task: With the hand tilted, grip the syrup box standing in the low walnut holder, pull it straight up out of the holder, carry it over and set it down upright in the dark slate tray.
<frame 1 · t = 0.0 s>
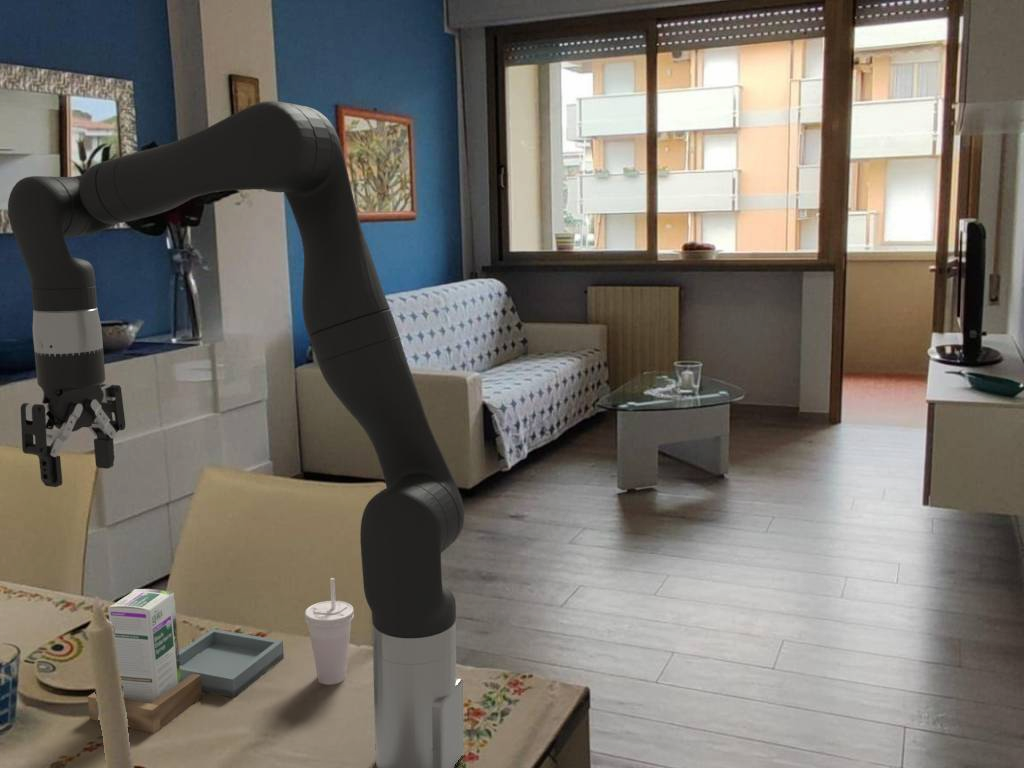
hand: (80, 476, 119), 29 cm above the table, tool pointing down, fingers open, 8 cm apart
tray: (223, 669, 132), on the table
smoothie: (331, 679, 130), on the table
holder: (150, 705, 122), on the table
syrup box: (150, 706, 122), on the table
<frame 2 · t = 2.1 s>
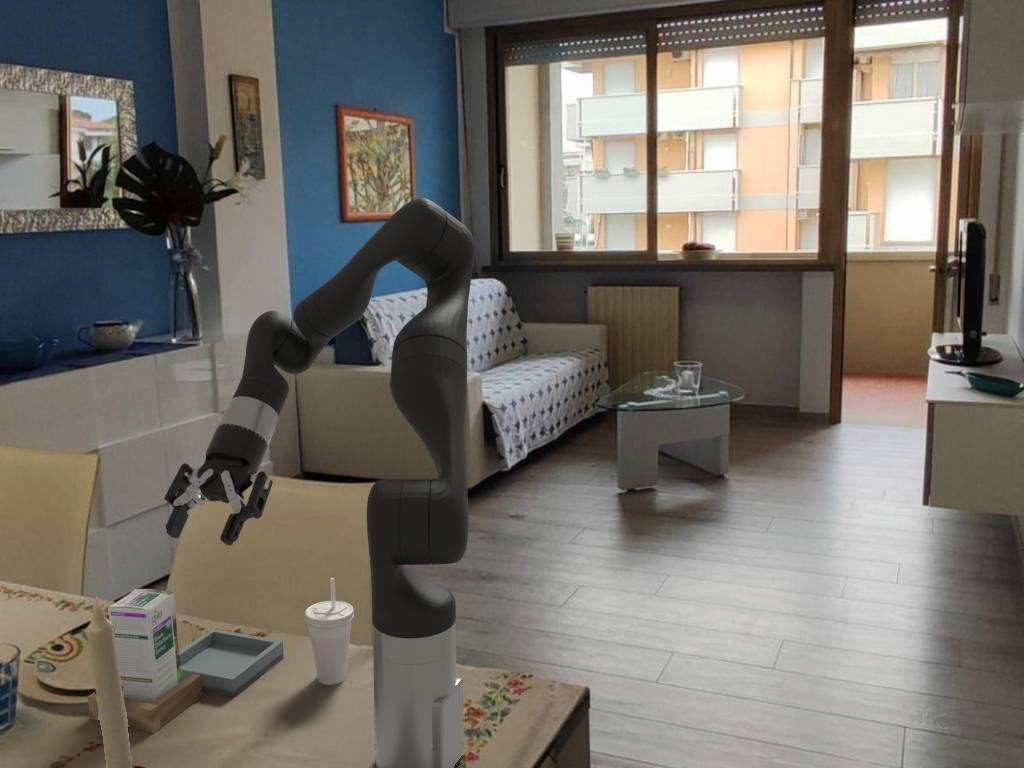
hand: (198, 539, 130), 18 cm above the table, tool tilted 45°, fingers open, 8 cm apart
nothing on the table moved.
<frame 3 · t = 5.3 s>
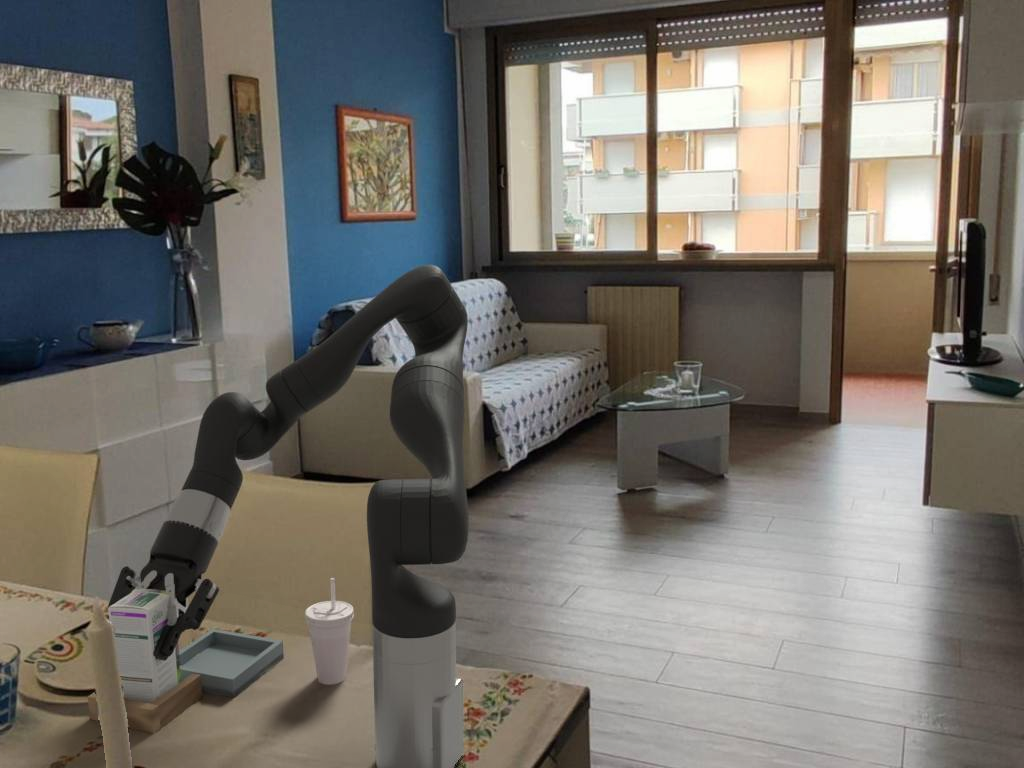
hand: (136, 653, 119), 8 cm above the table, tool tilted 45°, fingers closed on syrup box, 6 cm apart
syrup box: (150, 706, 122), on the table, touching gripper
everything else where it was.
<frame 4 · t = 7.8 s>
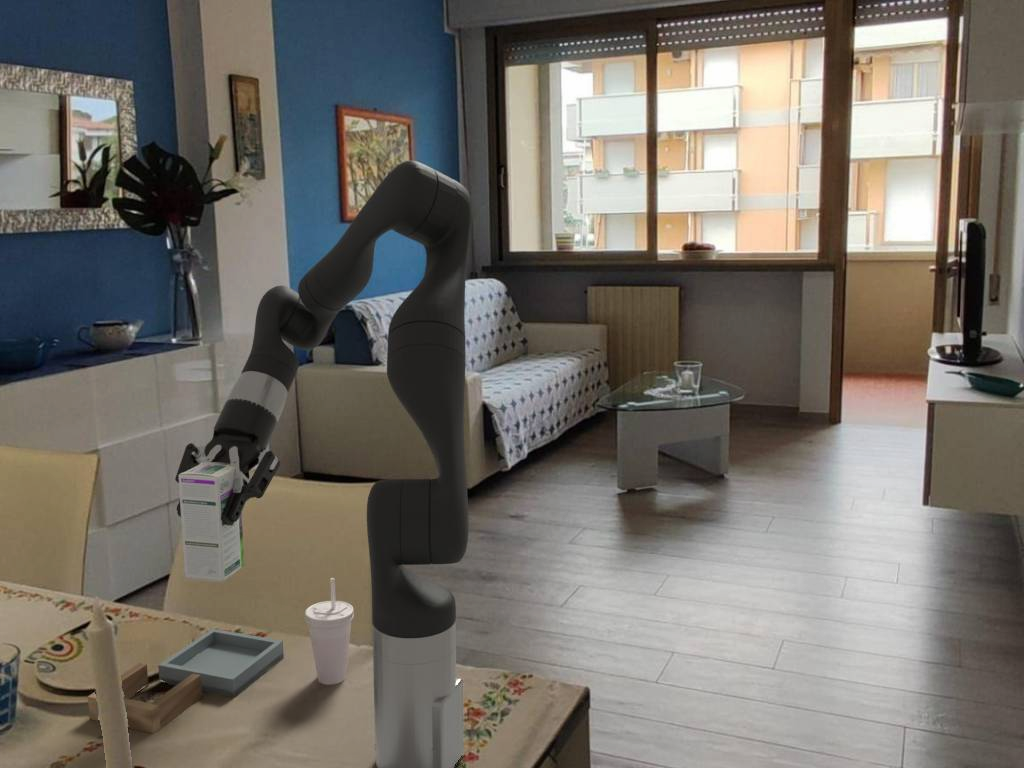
hand: (204, 519, 126), 22 cm above the table, tool tilted 45°, fingers closed on syrup box, 6 cm apart
syrup box: (214, 574, 129), point 14 cm above the table, touching gripper
everything else where it was.
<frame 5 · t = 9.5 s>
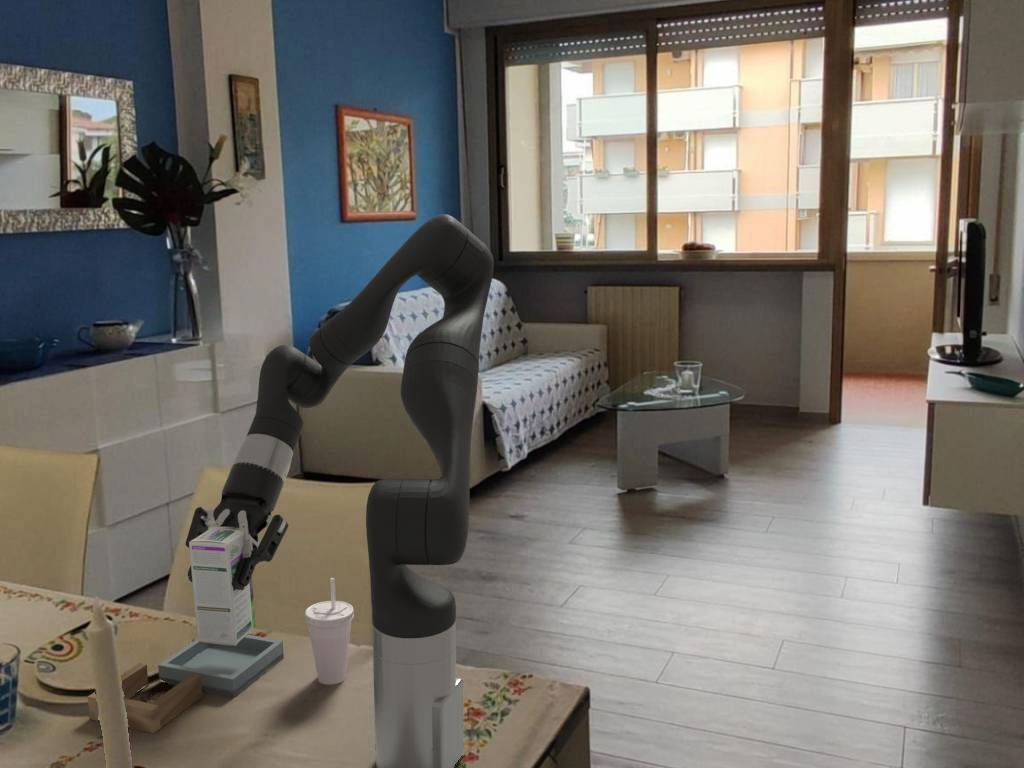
hand: (215, 584, 128), 13 cm above the table, tool tilted 45°, fingers closed on syrup box, 6 cm apart
syrup box: (226, 636, 131), point 5 cm above the table, touching gripper
everything else where it was.
when the fingers open (10 cm above the table, at t = 10.7 s): syrup box drops 1 cm, resting on tray.
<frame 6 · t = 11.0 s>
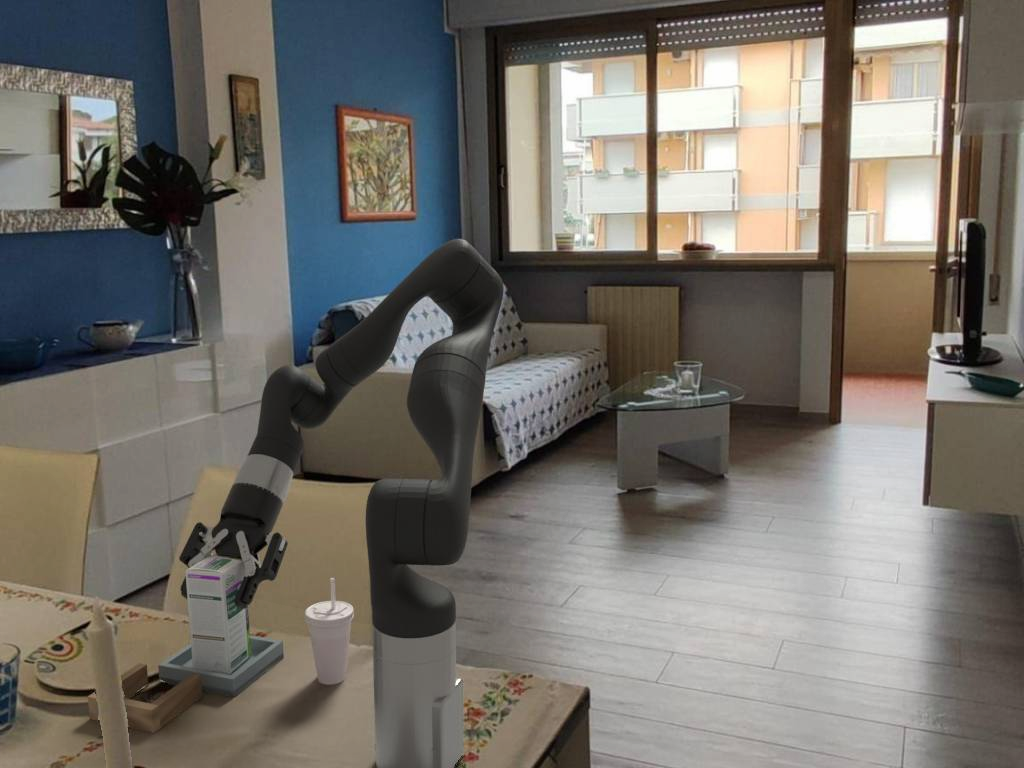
hand: (212, 601, 128), 10 cm above the table, tool tilted 45°, fingers open, 8 cm apart
syrup box: (221, 664, 132), point 1 cm above the table, touching tray
everything else where it was.
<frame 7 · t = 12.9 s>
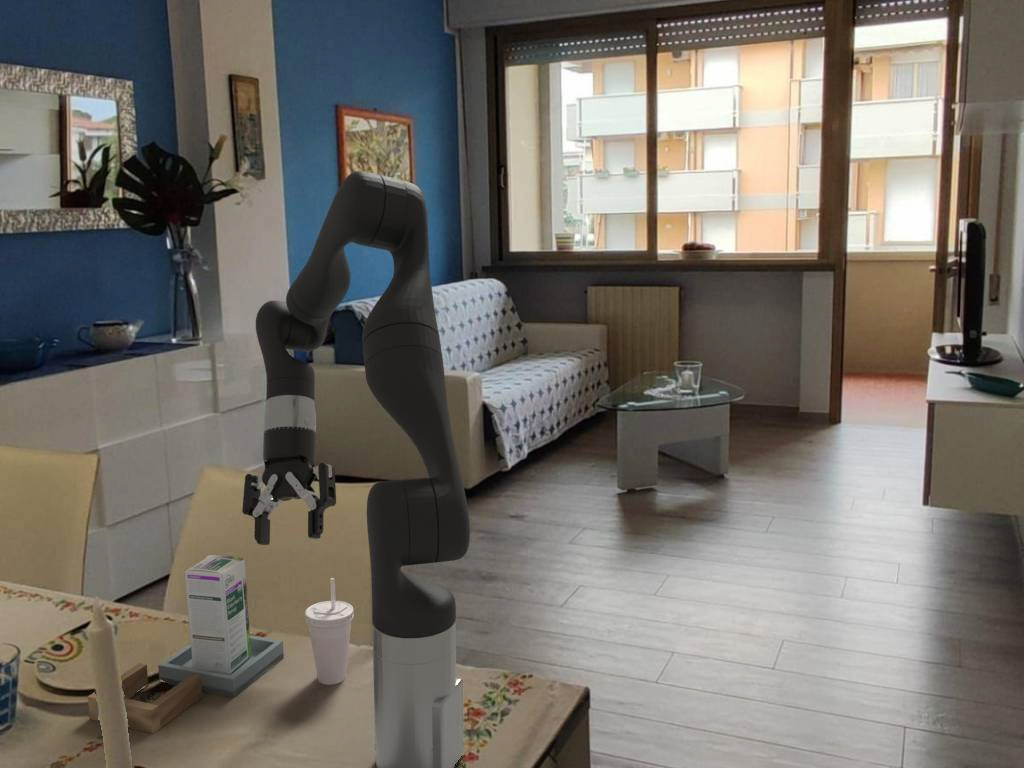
hand: (288, 541, 138), 15 cm above the table, tool tilted 30°, fingers open, 8 cm apart
nothing on the table moved.
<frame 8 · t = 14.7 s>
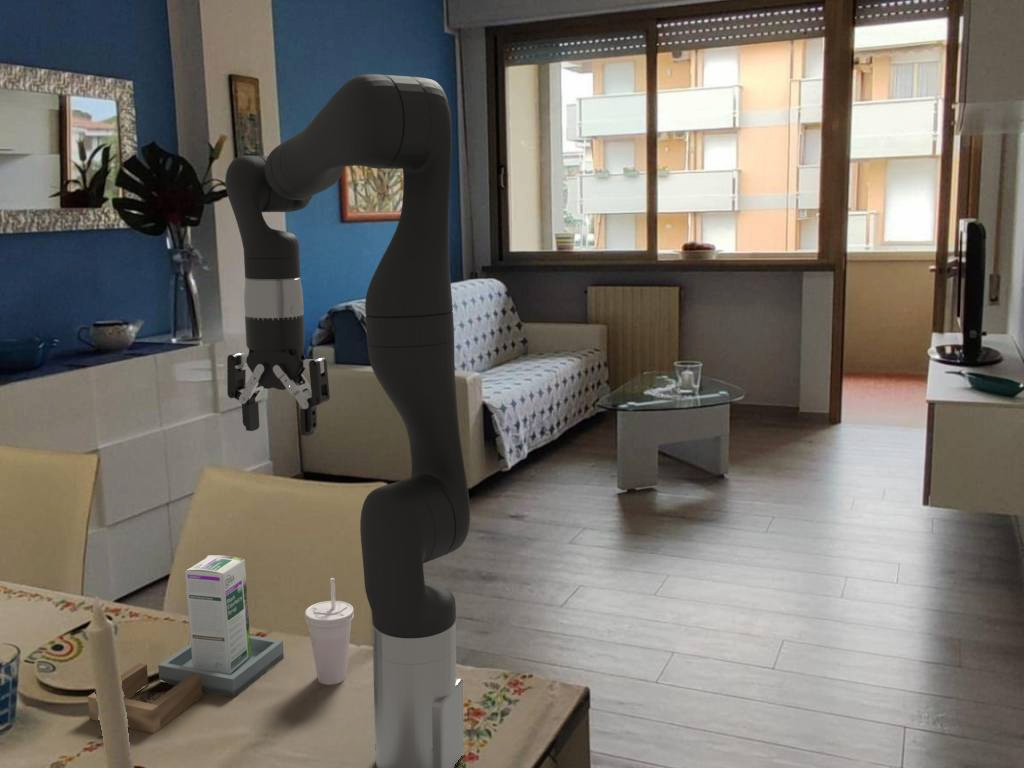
hand: (279, 432, 130), 32 cm above the table, tool pointing down, fingers open, 8 cm apart
nothing on the table moved.
at the end: syrup box inside the target area on the tray (0.2 cm from its centre), point 0.6 cm above the tray's base; syrup box tilted 0°; the gripper is holding nothing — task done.
